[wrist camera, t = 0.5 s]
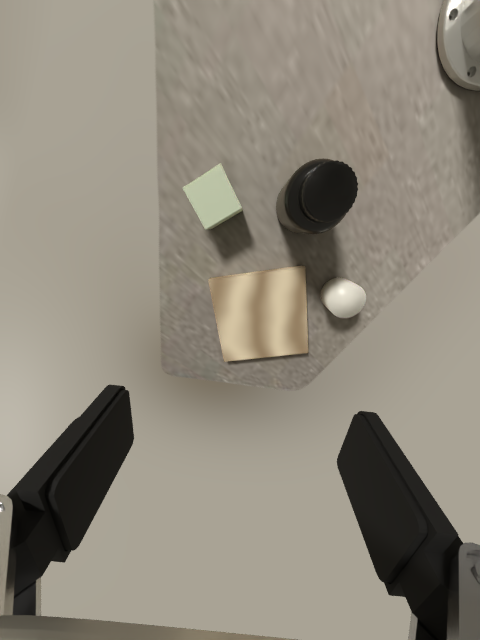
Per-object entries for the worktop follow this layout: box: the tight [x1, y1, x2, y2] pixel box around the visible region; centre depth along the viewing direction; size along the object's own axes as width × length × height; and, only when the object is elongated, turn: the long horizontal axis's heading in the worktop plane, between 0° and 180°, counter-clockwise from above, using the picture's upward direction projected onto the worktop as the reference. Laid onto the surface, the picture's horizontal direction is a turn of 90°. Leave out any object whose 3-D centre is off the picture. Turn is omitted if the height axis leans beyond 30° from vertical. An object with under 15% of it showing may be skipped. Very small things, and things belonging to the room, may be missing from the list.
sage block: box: [183, 163, 243, 230], centre depth 29 cm, size 5×5×5 cm
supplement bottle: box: [276, 159, 358, 234], centre depth 25 cm, size 7×7×12 cm
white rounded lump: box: [320, 277, 366, 318], centre depth 34 cm, size 5×5×4 cm
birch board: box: [208, 265, 308, 362], centre depth 36 cm, size 14×14×2 cm
